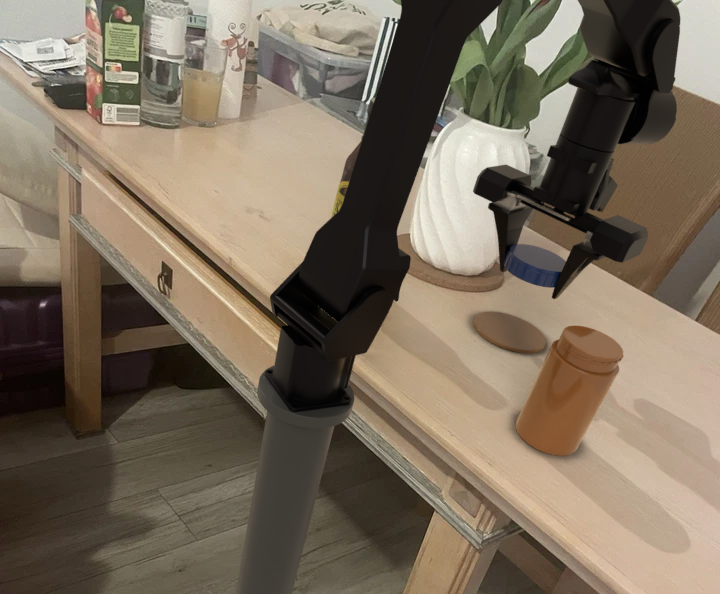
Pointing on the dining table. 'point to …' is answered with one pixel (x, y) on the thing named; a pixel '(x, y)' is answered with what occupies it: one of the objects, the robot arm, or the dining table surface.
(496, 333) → the coaster
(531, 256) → the lid
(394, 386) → the dining table surface
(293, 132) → the dining table surface
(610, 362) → the jar
